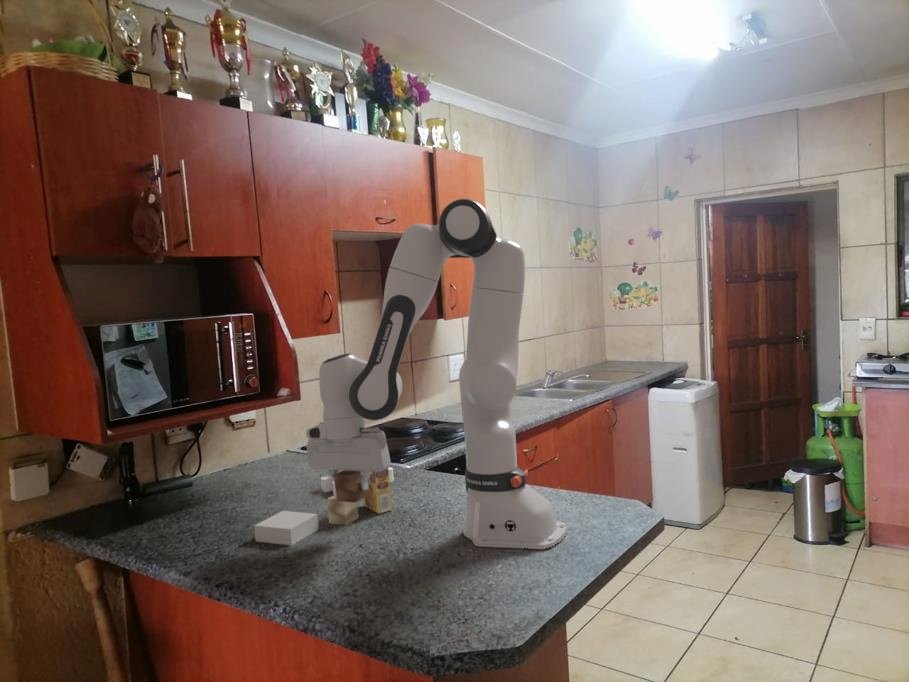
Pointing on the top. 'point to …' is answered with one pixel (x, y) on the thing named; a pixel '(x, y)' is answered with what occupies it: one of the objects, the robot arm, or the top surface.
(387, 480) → the candy box
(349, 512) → the beech block
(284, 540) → the stone slab
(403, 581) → the top surface
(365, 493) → the walnut block
